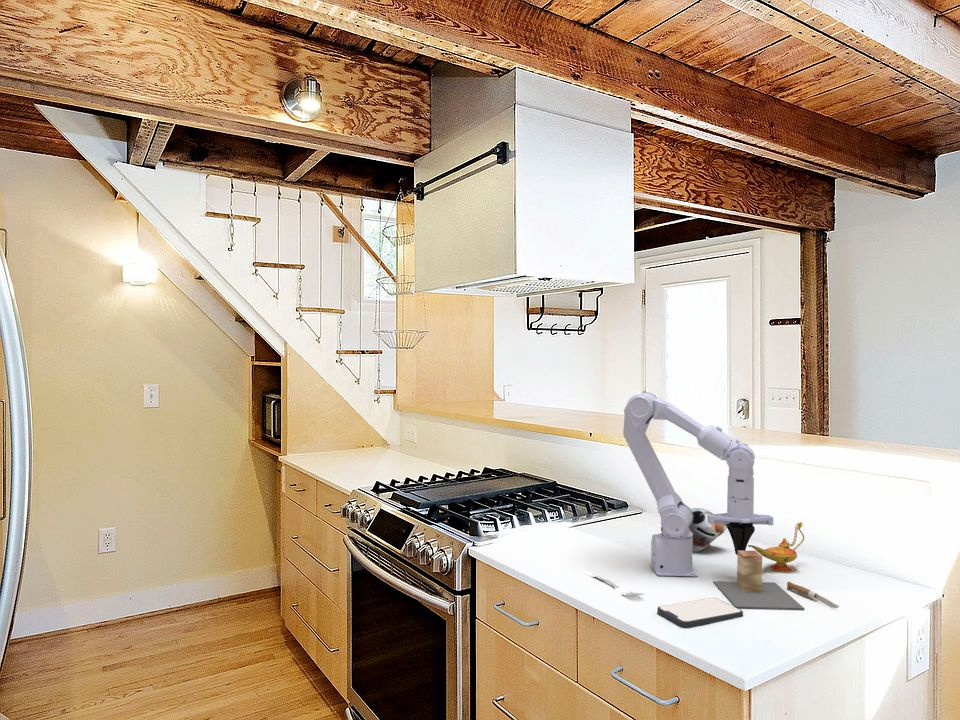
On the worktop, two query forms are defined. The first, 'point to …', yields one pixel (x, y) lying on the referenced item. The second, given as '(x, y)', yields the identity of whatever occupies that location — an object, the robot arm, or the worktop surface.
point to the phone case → (699, 612)
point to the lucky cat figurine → (703, 529)
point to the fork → (618, 587)
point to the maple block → (749, 571)
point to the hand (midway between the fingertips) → (739, 555)
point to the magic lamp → (781, 553)
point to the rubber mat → (758, 597)
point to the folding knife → (810, 594)
